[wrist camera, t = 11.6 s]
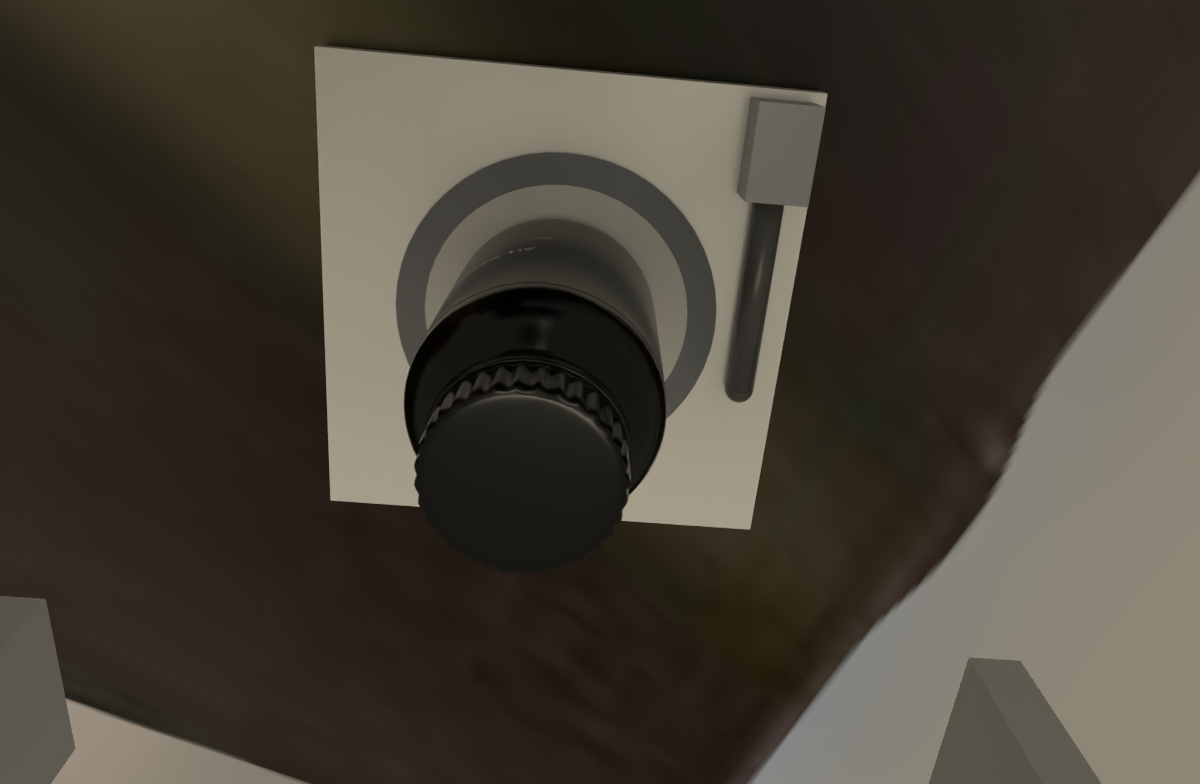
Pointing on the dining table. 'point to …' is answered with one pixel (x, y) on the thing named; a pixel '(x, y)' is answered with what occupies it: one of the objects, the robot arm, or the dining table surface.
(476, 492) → the supplement bottle
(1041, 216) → the dining table surface
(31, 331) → the dining table surface
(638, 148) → the record player
